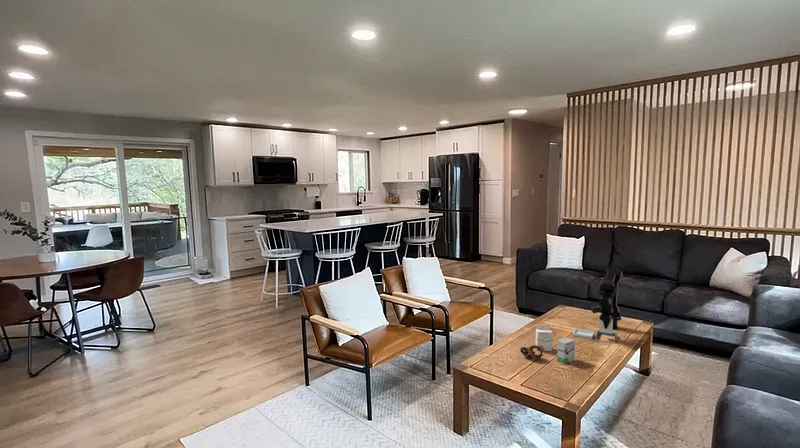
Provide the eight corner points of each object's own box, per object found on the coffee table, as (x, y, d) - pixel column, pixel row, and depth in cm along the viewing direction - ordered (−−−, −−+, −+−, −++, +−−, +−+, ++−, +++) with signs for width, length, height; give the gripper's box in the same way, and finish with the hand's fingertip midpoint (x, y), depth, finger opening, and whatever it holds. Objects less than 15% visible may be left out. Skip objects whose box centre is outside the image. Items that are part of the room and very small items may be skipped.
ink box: (564, 363, 221) (564, 343, 220) (556, 360, 226) (557, 340, 224) (574, 360, 225) (575, 339, 224) (567, 357, 230) (568, 336, 228)
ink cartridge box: (537, 350, 238) (537, 326, 237) (535, 347, 243) (535, 323, 242) (552, 351, 237) (552, 327, 236) (549, 347, 242) (550, 324, 241)
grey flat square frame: (596, 333, 263) (597, 330, 263) (617, 336, 257) (617, 333, 257) (594, 339, 253) (594, 336, 253) (615, 343, 247) (615, 340, 246)
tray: (574, 331, 268) (574, 328, 267) (594, 334, 261) (594, 331, 261) (572, 336, 259) (572, 333, 259) (592, 339, 253) (592, 336, 253)
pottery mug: (539, 355, 234) (543, 346, 229) (539, 368, 227) (544, 359, 222) (518, 348, 236) (522, 339, 231) (517, 361, 228) (522, 352, 224)
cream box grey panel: (600, 329, 257) (600, 316, 256) (612, 331, 253) (613, 317, 252) (599, 331, 253) (599, 318, 252) (611, 333, 249) (612, 320, 248)
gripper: (594, 297, 263) (593, 320, 265) (590, 305, 247) (590, 329, 249) (613, 299, 257) (612, 323, 259) (611, 308, 241) (610, 333, 243)
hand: (606, 327), depth 253 cm, fingers closed on cream box grey panel, 5 cm apart
